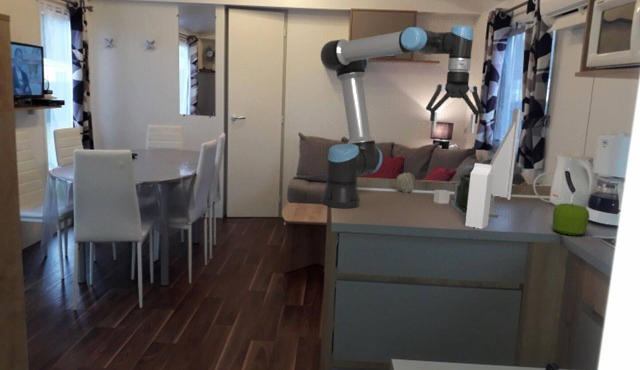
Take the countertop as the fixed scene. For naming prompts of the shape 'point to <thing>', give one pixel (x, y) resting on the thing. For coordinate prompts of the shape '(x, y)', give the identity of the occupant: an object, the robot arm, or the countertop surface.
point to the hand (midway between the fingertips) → (452, 131)
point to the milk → (479, 196)
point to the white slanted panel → (505, 160)
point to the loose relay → (441, 196)
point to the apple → (570, 219)
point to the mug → (464, 190)
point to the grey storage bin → (464, 209)
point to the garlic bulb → (405, 182)
